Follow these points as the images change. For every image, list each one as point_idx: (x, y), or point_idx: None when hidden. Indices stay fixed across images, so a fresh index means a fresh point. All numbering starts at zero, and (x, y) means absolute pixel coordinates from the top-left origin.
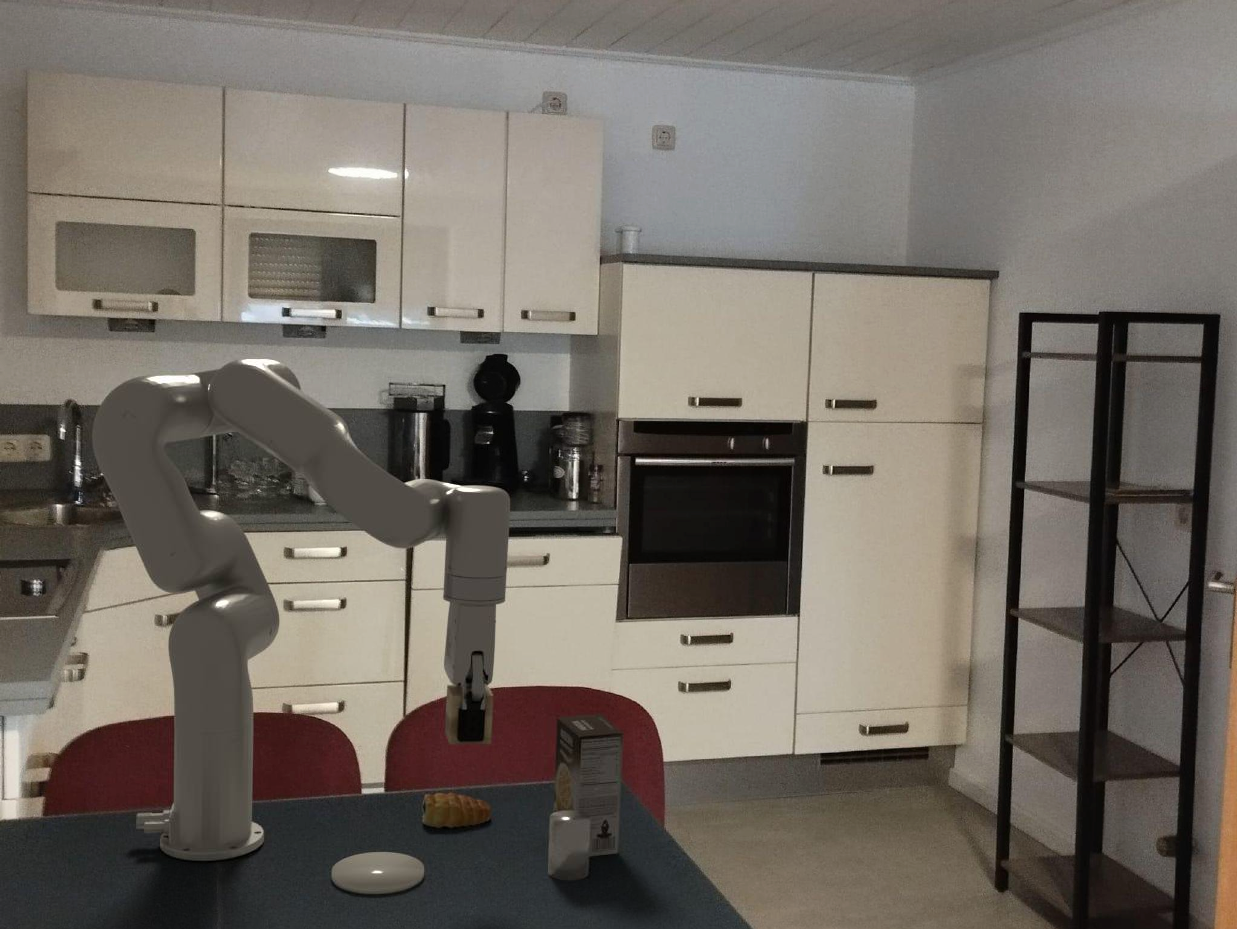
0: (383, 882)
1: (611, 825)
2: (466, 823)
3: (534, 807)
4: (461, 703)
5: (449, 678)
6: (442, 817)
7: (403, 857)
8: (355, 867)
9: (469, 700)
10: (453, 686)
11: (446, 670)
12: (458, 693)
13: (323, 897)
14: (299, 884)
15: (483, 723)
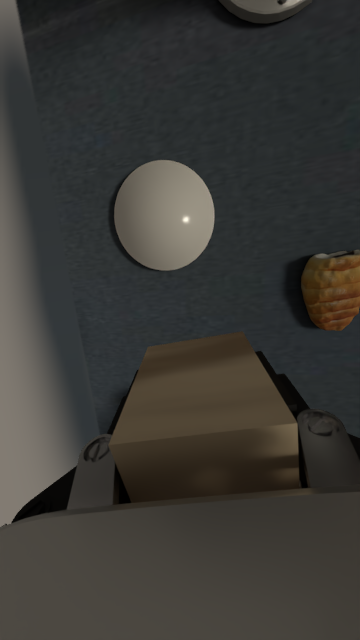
0: (128, 230)
1: None
2: (305, 304)
3: (353, 368)
4: (110, 450)
5: (81, 525)
6: (306, 279)
7: (198, 244)
8: (166, 190)
9: (28, 503)
10: (269, 446)
11: (257, 527)
12: (151, 464)
13: (102, 165)
14: (133, 124)
15: None
